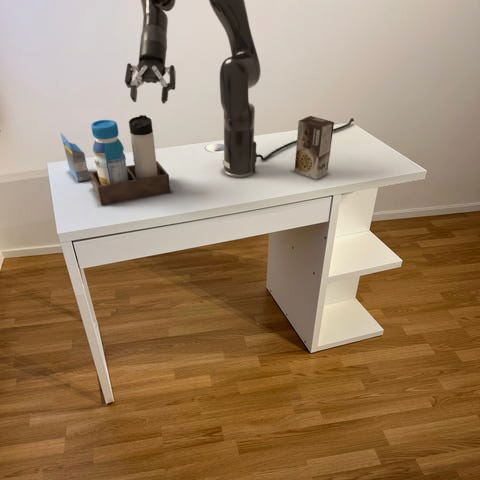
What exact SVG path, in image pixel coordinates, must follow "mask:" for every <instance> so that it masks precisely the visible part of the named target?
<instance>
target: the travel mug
mask: <svg viewBox="0 0 480 480" xmlns="http://www.w3.org/2000/svg"><path fill="white" fill-rule="evenodd" d="M128 125H129V134H130V143H131V150H132V156H133V165H135V172H136V179H142V178H148V177H154V176H158V174H157V165H156V161H157V157H156V147H155V137H154V130H153V120H152V119H151V118H150V117H148V116H147V115H145V114H143V115H142V114H140V115H138V116H135V117H132V118H130V119H129V121H128Z"/></svg>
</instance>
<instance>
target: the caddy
mask: <svg viewBox="0 0 480 480" xmlns="http://www.w3.org/2000/svg"><path fill="white" fill-rule="evenodd" d="M156 165H157V174H158V176H154V177H148V178H142V179H136V172H135V164H131V165H126V168H127V175H128V181H125V182H119V183H113V184H108V185H102V186H100V181H99V177H98V172H97V170H94V171H90V172H89V177H90V180H91V185H92V189H93V192H94V193H95V196H96V198H97V199H98V202H99V203H100V205H101V206H107V205H111V204H112V205H113V204H118V203H123V202H128V201H134V200H138V199H139V200H140V199H144V198H148V197H154V196H155V197H156V196H159V195H165V194H170V193H171V183H170V175H169V173H168V172H167V170H165V168H164V167H163V166H162V165H161V164H160V163H159V161H158V160H156Z"/></svg>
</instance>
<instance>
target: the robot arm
mask: <svg viewBox="0 0 480 480" xmlns="http://www.w3.org/2000/svg"><path fill="white" fill-rule="evenodd" d="M176 2H177V1H176V0H140V4H141V8H142V15H143V17H142V18H143V19H142V30H141V33H140V42H139V53H138V54H139V55H138V63H137V65H132V64H131V63H130V62H129V63H127V64H126V70H125V71H126V72H125V76H124V83H125V86H126V87H127V89H130V91H129V92H130V93H129V96H130V99H131V100H132V102H133V103H137V98H138V89H139V88H140V87H141V86H143V85H144V83H146V84H151V83H152V84H157V83H159V84H160V86H161V87H162V88H161V102H162V104H164V105H165V104H166V102H168V100H169V91H171V90H172V91H175V90H176V77H177V76H176V75H177V73H176V72H177V71H176V68H175V66H174V65H173V64H171V65H170V66H167V67H166V60H167V59H166V58H167V50H168V26H169V25H168V24H169V18H168V15H167V12H170V11H172V10H173V9H174V7H175V6H176ZM208 2H209V6H210V7H211V9H212V11H213V13H214V15H215V16H216V17H217V19H218V21H219V23H220V24H221V27H222V28H223V29H224V31H225V34H226V36H227V39H228V40H227V41H228V43H229V49H230V52H231V56H228V57H226V58H225V59H224V60H223V61H222V63H221V64H220V69H219V94H220V95H219V96H220V104H221V108H222V112H223V159H222V165H223V173H224V174H225V175H227V176H229V177H233V178H245V177H249V176H251V175H252V174H255V173H256V164H257V159H258V158H259V159H261V161H266V160H267V159H269V158H271V157H272V156H273V155H274V154H276V153H278V152H279V151H281V150H284V149H285V148H288V147H289V146H292V145H295V144H297V139H296V140H294V141H291V142H289V143H286V144H284V145H282V146H280V147H278V148H275V149H274V150H273V151H271V152H270V153H268V154H267V155H266V156H263V155H262V154H258V153H257V142H256V141H255V117H256V115H255V114H256V109H255V108H256V107H255V105H254V104H253V103H251V102H250V100H249V90H250V89H251V88H253V87H255V86H256V85H257V84H258V83H259V81H260V78H261V72H262V71H261V64H260V59H259V56H258V53H257V49H256V45H255V42H254V37H253V35H252V32H251V31H252V30H251V26H250V23H249V17H248V12H247V7H246V3H245V0H208ZM136 72H137V73H136ZM166 73H167V75H168V76H169V82H167V81H166V80H165V78H164V76H165V75H166ZM135 74H136V75H135ZM134 75H135V76H134ZM133 76H134V79H133ZM352 122H355V119H354V118H353V117H351V118H350V119H349V122H348V123H346V124H344V125H342V126H339V127H336V128H333V133H334V132H336V131H339V130H342V129H345V128H347V127H349V126H350V125H352Z"/></svg>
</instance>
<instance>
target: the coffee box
mask: <svg viewBox="0 0 480 480" xmlns="http://www.w3.org/2000/svg"><path fill="white" fill-rule="evenodd" d="M334 126H335V121H332V120H328V119H324V118H321V117H317V116H312V115H308V116H307V117H304V118H302V119H299V120H298V124H297V135H296V140H297V143H296V149H295V160H294V161H295V162H294V173H296V174H297V173H298V174H300V175H302V176H306V177H307V178H310V179H311V178H312V179H314V180H318V179H320V178H323V177H324V176H326V175H328V170H329V162H330V156H331V149H332V141H333V134H334V132H333V129H334Z"/></svg>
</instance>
